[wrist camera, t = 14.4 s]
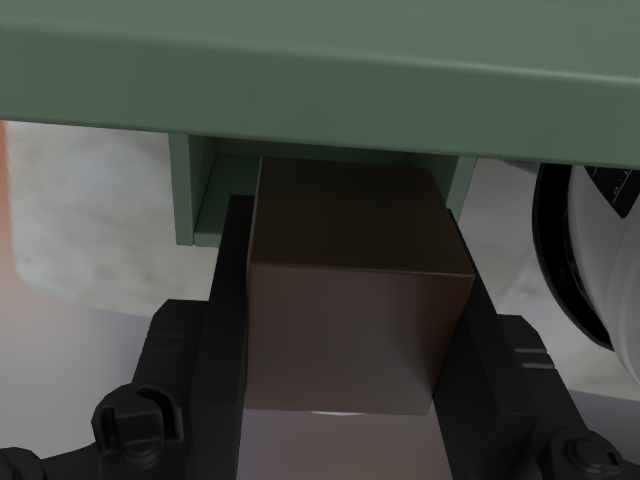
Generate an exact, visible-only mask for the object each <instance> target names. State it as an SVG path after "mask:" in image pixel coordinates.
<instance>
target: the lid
mask: <svg viewBox="0 0 640 480" xmlns="http://www.w3.org/2000/svg"><path fill="white" fill-rule="evenodd" d="M0 120H7V121H20V122H33V123H45V124H58V125H71V126H84V127H96V128H109V129H122V130H135V131H148V132H160V133H173V134H186V135H199V136H211V137H224V138H237V139H250V140H263V141H275V142H288V143H301V144H314V145H326V146H339V147H352V148H365V149H378V150H390V151H403V152H416V153H429V154H441V155H454V156H467V157H480V158H492V159H505V160H518V161H531V162H544V163H556V164H569V165H582V166H595V167H607V168H620V169H633V170H640V0H0Z"/></svg>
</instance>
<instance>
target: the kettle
mask: <svg viewBox="0 0 640 480" xmlns="http://www.w3.org/2000/svg"><path fill="white" fill-rule="evenodd" d="M498 160H500V161H502V162H504V163H507V164H509V165H511V166H514V167H516V168H519V169H522V170H524V171H527V172H530V173H533V174H536V175H537V180H536V185H535V190H534V197H533V205H532V233H533V241H534V246H535V251H536V255H537V259H538V262H539V265H540V269H541V271H542V274H543V276H544V279H545V281H546V283H547V285H548V288H549V290H550V291H551V293H552V295H553V297H554V298H555V300H556V302H557V303H558V305H559V306H560V307H561V309H562V310H563V312H564V313H565V314H566V315H567V316H568V318H569V319H570V320H571V321H572V322H573V323H574V324H575V325H576V327H577V328H578V329H580V330H581V331H582V332H583V333H584V334H585V335H586V336H587V337H588V338H589V339H590V340H592V341H593V342H594V343H596V344H597V345H599V346H601V347H604V348H606V349H609V350H611V351H613V352H615V353H616V355H617V357H618V359H619V360H620V362H621V363H622V365H623V366H624V368H625V369H626V371H627V372H628V373H629V374H630V376H631V377H632V378H633V379H634V381H635V382H636V383H637V384H638V385H639V386H640V170H633V169H620V168H607V167H595V166H582V165H569V164H556V163H544V162H531V161H518V160H505V159H498Z"/></svg>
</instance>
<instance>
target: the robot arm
mask: <svg viewBox="0 0 640 480" xmlns="http://www.w3.org/2000/svg"><path fill="white" fill-rule="evenodd" d="M254 202H255V196H254V195H239V194H230V198H229V203H228V208H227V213H226V218H225V223H224V228H223V233H222V238H221V243H220V247H219V252H218V257H217V262H216V267H215V272H214V277H213V282H212V287H211V291H210V296H209V301H197V300H177V299H168V300H167V301H166V302H165V303H164V304H163V305H162V306H161V307H160V308H159V309H158V311H157V312H156V313H155V314H154V315H153V318H152V321H151V324H150V327H149V331H148V333H147V338H146V340H145V343H144V346H143V349H142V353H141V356H140V358H139V361H138V364H137V368H136V371H135V374H134V377H133V380H132V383H130V384H126V385H122V386H120V387H119V388H117V389H116V390H114V391H112V392H111V393H109V394H107V395H106V396H105V397H104V399H103V400H102V401H101V402H100V403H99V404H98V405H97V407H96V409H95V411H94V414H93V417H92V420H91V424H92V427H93V432H94V436H95V440H96V442H94V443H92V444H91V445H89V446H86V447H84V448H81V449H78V450H76V451H72V452H68V453H64V454H61V455H56V456H53V457H49V458H45V459H40V458H39V457H38V456H36V455H35V454H34V453H33V452H32V451H31V450H27V449H22V448H18V447H10V448H2V449H0V480H236V477H237V467H238V457H239V446H240V437H241V427H242V417H243V407H244V397H245V372H246V333H247V302H246V266H247V256H248V248H249V240H250V233H251V225H252V218H253V210H254ZM448 211H449V214H450V216H451V219H452V221H453V223H454V226H455V228H456V230H457V233H458V235H459V237H460V240H461V242H462V244H463V247H464V249H465V251H466V254H467V256H468V258H469V261H470V263H471V265H472V268H473V270H474V272H475V279H474V282H473V285H472V288H471V291H470V294H469V296H468V299H467V302H466V305H465V308H464V311H463V314H462V316H461V319H460V322H459V325H458V328H457V331H456V333H455V336H454V339H453V342H452V345H451V348H450V350H449V353H448V356H447V359H446V362H445V365H444V367H443V370H442V373H441V376H440V379H439V382H438V385H437V387H436V390H435V393H434V396H433V402H434V406H435V410H436V414H437V418H438V422H439V426H440V430H441V434H442V438H443V442H444V445H445V450H446V454H447V458H448V462H449V466H450V470H451V474H452V477H453V480H640V466H639V465H636V464H633V463H631V462H628V461H626V460H624V459H623V458H622V456H621V454H620V453H619V452H618V451H617V450H616V449H615V447H614V446H613V445H612V444H611V443H610V442H609V441H607V440H606V439H605V438H603V437H602V436H600V435H599V434H597V433H596V432H594V431H591V430H588V428H587V427H586V425H585V423H584V421H583V419H582V418H581V416H580V414H579V412H578V410H577V408H576V406H575V404H574V402H573V400H572V398H571V396H570V394H569V392H568V390H567V388H566V386H565V384H564V382H563V380H562V379H561V377H560V375H559V373H558V371H557V369H555V365H554V363H553V361H552V359H551V357H550V355H549V354H547V349H546V347H545V345H544V343H543V341H542V340H541V338H540V336H539V334H538V332H537V331H536V330H535V329H534V328H533V327H532V326H531V325H530V324H529V323H528V322H527V321H526V320H525V319H524V318H523V317H522V316H521V315H503V314H497V313H496V310H495V308H494V306H493V304H492V301H491V299H490V297H489V295H488V292H487V290H486V288H485V285H484V283H483V281H482V279H481V276H480V274H479V272H478V270H477V267H476V265H475V263H474V261H473V258H472V256H471V254H470V252H469V249H468V247H467V245H466V243H465V240H464V238H463V236H462V234H461V231H460V229H459V227H458V225H457V222H456V220H455V218H454V215H453V213H452V211H451V209H448Z"/></svg>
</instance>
